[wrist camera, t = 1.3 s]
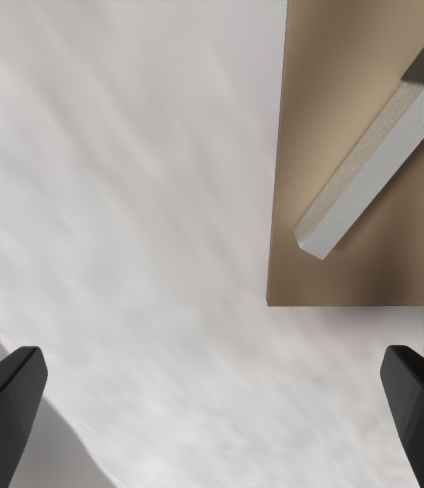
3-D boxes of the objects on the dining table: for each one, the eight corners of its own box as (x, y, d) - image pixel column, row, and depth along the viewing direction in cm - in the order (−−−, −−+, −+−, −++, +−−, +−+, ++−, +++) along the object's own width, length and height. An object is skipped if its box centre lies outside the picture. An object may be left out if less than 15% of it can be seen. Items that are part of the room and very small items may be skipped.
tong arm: (544, -44, 14) (597, -59, 12) (316, 243, 20) (326, 263, 18) (512, -73, 14) (561, -94, 12) (289, 228, 20) (297, 248, 18)
